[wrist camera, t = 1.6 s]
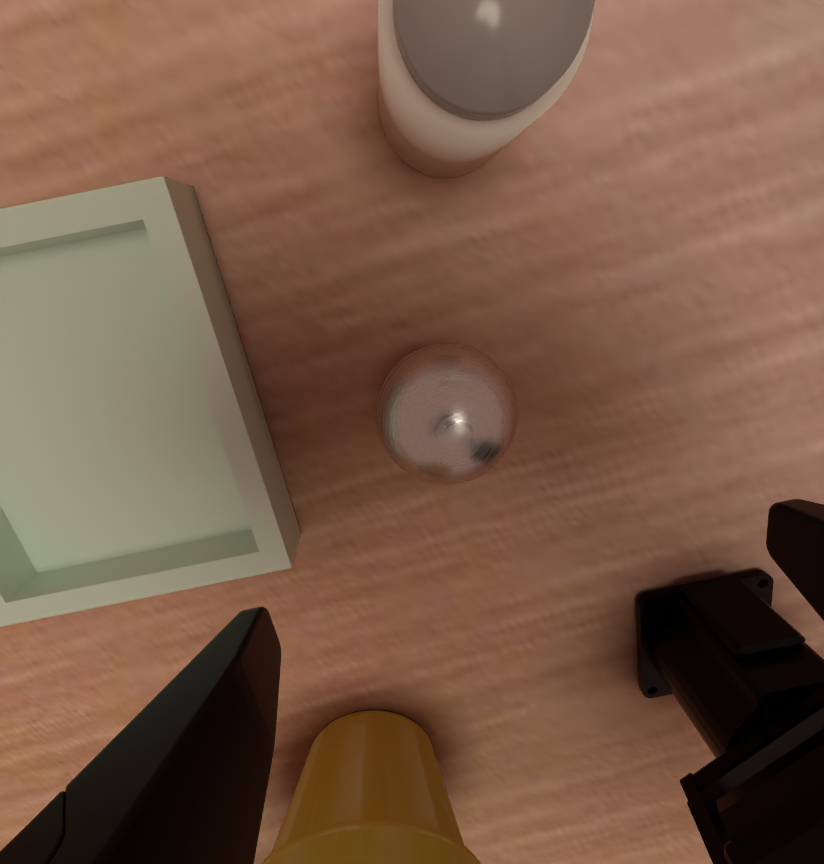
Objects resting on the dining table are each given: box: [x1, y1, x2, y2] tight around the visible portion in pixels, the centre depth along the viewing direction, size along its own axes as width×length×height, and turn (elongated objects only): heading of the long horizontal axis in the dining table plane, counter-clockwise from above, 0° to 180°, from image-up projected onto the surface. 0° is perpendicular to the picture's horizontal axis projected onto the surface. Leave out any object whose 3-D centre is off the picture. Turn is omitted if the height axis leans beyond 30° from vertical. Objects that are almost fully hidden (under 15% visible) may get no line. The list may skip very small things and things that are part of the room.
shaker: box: [378, 0, 594, 178], centre depth 13 cm, size 5×5×7 cm
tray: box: [0, 176, 301, 627], centre depth 18 cm, size 14×12×2 cm
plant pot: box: [261, 710, 480, 864], centre depth 22 cm, size 10×10×10 cm
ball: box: [376, 343, 518, 484], centre depth 18 cm, size 5×5×5 cm
